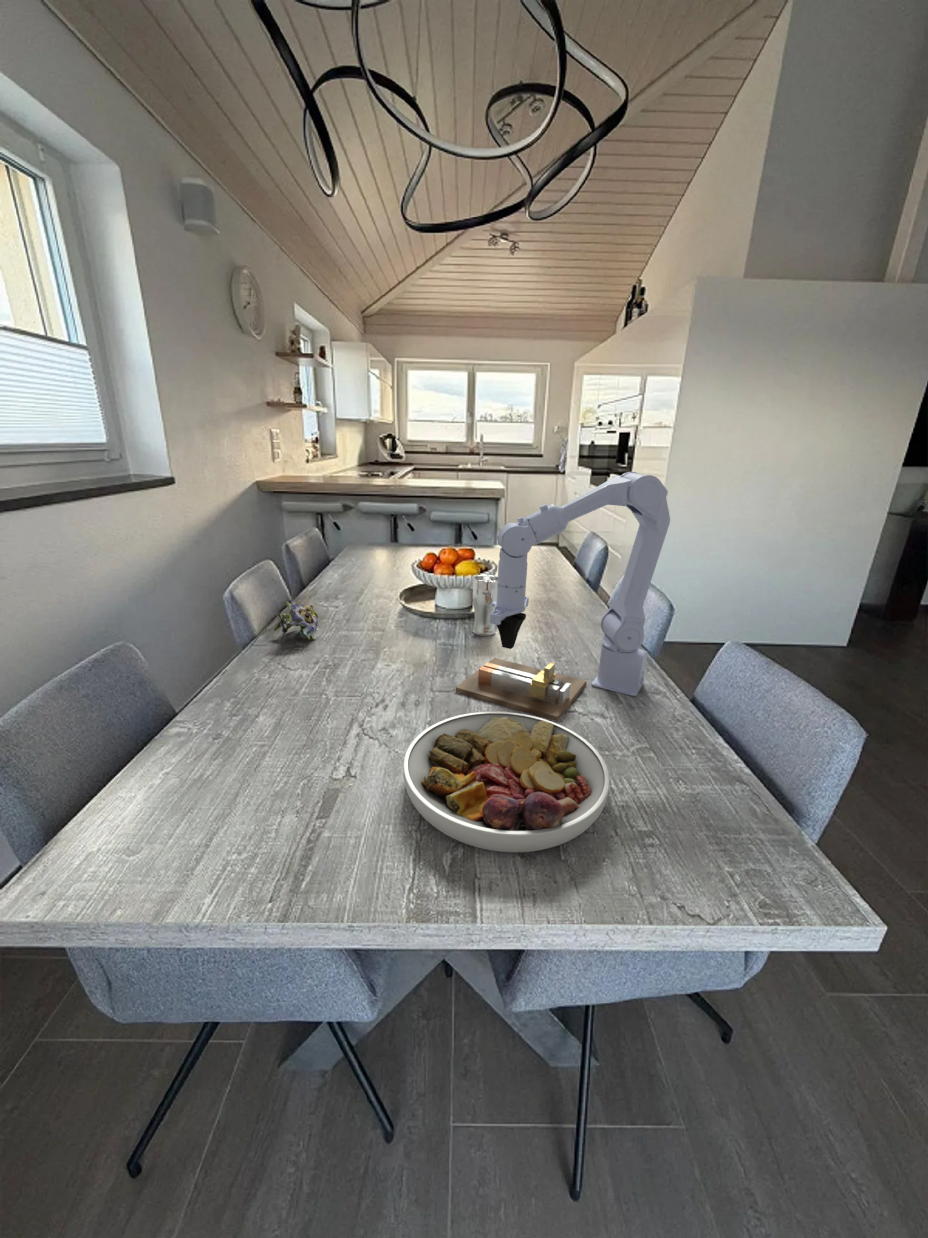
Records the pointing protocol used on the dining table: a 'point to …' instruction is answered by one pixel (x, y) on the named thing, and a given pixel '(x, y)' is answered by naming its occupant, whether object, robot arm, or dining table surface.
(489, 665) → the hinged tong arm
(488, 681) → the fixed tong arm
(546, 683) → the brass ring
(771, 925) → the dining table surface
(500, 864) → the dining table surface
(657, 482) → the robot arm
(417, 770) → the bowl
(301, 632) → the passion flower
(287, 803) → the dining table surface
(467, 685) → the walnut board
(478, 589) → the beer glass
